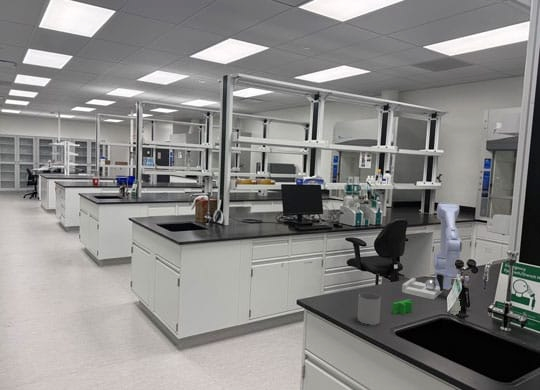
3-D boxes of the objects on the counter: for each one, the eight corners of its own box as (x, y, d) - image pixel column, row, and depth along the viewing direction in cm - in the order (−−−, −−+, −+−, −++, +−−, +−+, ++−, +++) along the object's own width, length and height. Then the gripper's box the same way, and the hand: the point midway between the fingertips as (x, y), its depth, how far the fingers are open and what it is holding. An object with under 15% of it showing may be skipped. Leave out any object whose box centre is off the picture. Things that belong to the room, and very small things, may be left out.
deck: (412, 285, 200) (412, 277, 199) (442, 291, 191) (442, 284, 190) (401, 292, 187) (402, 284, 187) (433, 299, 178) (434, 291, 178)
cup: (375, 326, 144) (377, 301, 143) (354, 321, 148) (356, 296, 147) (381, 319, 151) (383, 295, 150) (361, 315, 155) (363, 291, 154)
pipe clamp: (399, 316, 156) (399, 305, 155) (391, 313, 159) (392, 303, 158) (416, 311, 162) (417, 301, 161) (409, 309, 165) (409, 298, 164)
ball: (426, 287, 189) (427, 277, 189) (437, 289, 186) (437, 279, 186) (423, 289, 185) (424, 279, 185) (434, 291, 182) (435, 281, 182)
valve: (461, 318, 156) (469, 311, 165) (462, 302, 156) (470, 296, 165) (444, 313, 161) (453, 306, 170) (446, 298, 160) (454, 292, 169)
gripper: (433, 263, 180) (431, 291, 181) (467, 269, 171) (465, 298, 172) (437, 260, 186) (435, 287, 187) (470, 266, 177) (468, 294, 178)
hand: (450, 292), depth 180 cm, fingers open, 7 cm apart
